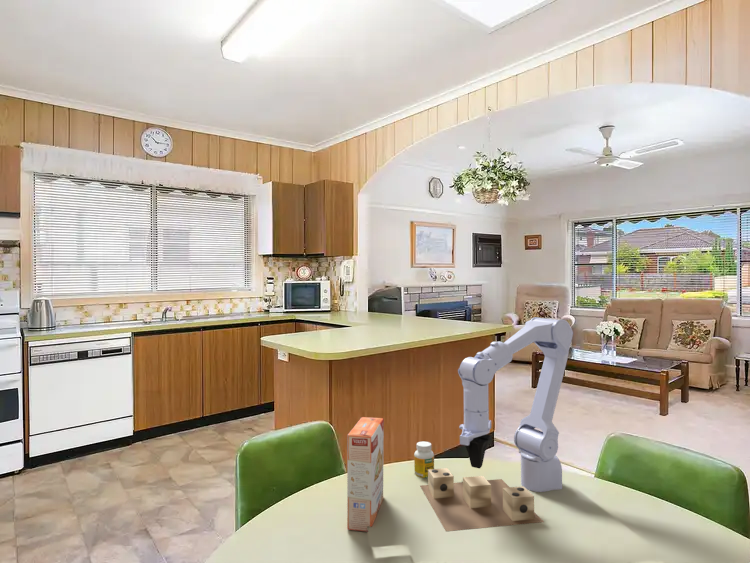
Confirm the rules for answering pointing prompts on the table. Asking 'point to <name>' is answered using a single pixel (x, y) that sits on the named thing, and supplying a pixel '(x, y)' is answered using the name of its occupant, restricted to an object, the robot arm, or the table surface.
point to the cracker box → (364, 473)
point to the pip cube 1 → (440, 483)
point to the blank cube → (477, 492)
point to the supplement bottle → (423, 459)
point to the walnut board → (473, 509)
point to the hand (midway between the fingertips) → (476, 466)
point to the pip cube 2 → (518, 503)
